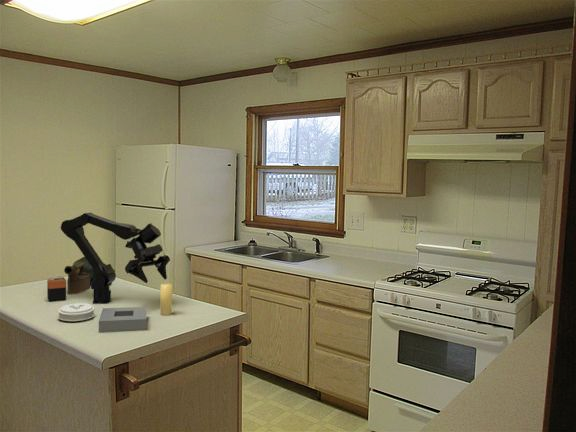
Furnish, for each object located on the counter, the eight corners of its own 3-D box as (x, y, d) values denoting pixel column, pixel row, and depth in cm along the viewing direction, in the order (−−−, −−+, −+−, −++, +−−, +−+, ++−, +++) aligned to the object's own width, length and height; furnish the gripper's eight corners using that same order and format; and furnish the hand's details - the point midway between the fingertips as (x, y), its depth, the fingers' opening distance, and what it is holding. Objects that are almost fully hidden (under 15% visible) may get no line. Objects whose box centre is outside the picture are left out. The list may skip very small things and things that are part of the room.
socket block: (98, 332, 171) (98, 321, 170) (102, 318, 186) (102, 308, 185) (146, 329, 175) (146, 319, 175) (146, 316, 190) (146, 306, 190)
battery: (66, 300, 208) (66, 277, 207) (48, 302, 204) (48, 278, 204) (64, 298, 212) (64, 275, 211) (47, 299, 208) (47, 276, 207)
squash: (59, 272, 237) (75, 251, 232) (83, 268, 250) (98, 248, 246) (74, 294, 233) (91, 273, 228) (98, 289, 247) (114, 269, 242)
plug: (160, 316, 192) (160, 286, 191) (160, 312, 196) (160, 283, 195) (171, 315, 193) (172, 285, 192) (171, 312, 197) (171, 283, 196)
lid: (58, 315, 189) (58, 302, 188) (93, 312, 194) (93, 300, 193) (57, 325, 177) (57, 311, 177) (95, 321, 182) (95, 308, 182)
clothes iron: (58, 295, 215) (58, 265, 214) (74, 287, 231) (74, 259, 230) (76, 296, 215) (76, 266, 214) (90, 287, 231) (90, 259, 230)
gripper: (129, 240, 192) (145, 272, 186) (167, 236, 207) (184, 266, 201) (117, 257, 198) (133, 288, 192) (156, 252, 212) (171, 281, 206)
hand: (156, 280), depth 198 cm, fingers open, 9 cm apart
